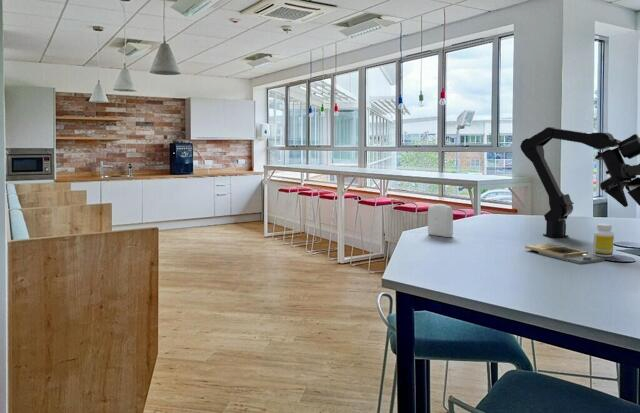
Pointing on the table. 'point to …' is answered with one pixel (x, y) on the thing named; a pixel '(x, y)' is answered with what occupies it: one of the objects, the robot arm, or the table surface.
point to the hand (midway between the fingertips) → (634, 206)
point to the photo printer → (440, 220)
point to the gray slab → (571, 255)
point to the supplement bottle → (603, 241)
